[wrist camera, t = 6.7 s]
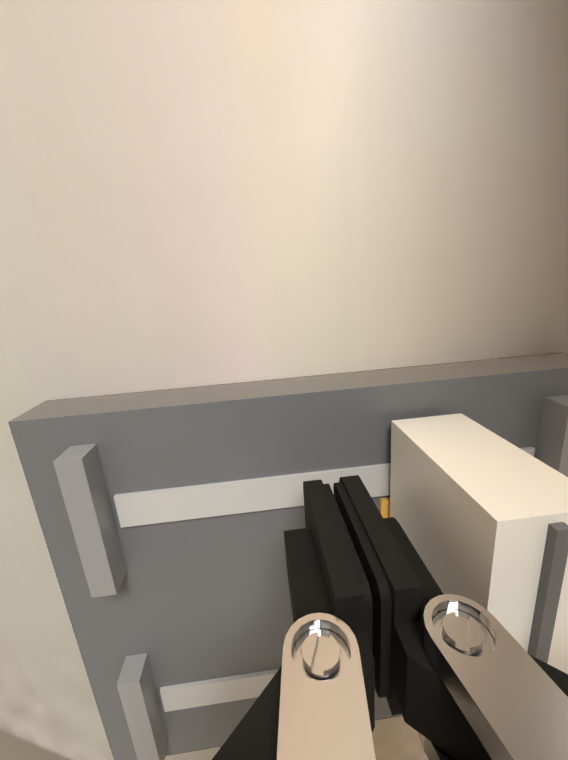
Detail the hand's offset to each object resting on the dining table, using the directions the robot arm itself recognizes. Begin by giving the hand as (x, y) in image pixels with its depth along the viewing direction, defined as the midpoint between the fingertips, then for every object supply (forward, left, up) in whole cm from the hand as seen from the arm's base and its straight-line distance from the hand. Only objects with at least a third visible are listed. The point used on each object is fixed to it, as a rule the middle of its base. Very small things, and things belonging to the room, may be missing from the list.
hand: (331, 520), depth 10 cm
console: (+5, 0, -4) cm, 6 cm away
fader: (0, +4, -1) cm, 4 cm away
